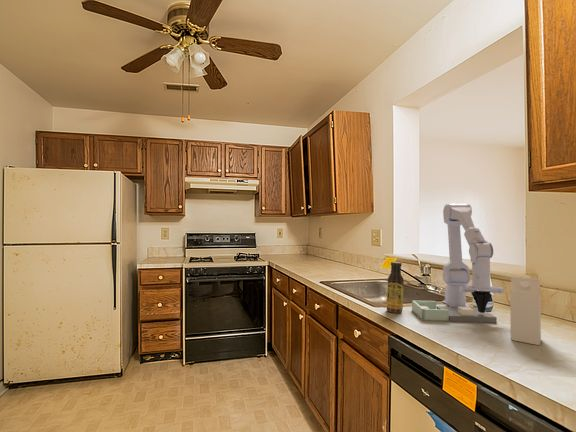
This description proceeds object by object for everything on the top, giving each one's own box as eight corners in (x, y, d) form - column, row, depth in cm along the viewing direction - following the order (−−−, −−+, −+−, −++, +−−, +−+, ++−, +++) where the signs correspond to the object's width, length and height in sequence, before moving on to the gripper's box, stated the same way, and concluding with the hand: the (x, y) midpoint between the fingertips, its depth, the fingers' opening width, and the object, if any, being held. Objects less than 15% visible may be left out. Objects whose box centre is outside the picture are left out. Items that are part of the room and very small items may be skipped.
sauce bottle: (385, 312, 131) (385, 262, 131) (388, 308, 136) (388, 260, 136) (402, 314, 128) (402, 263, 128) (404, 310, 133) (404, 261, 133)
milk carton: (513, 334, 106) (512, 275, 106) (540, 339, 101) (540, 277, 101) (510, 340, 100) (510, 277, 100) (540, 346, 96) (539, 280, 96)
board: (436, 311, 133) (436, 306, 133) (478, 312, 131) (478, 307, 131) (449, 321, 119) (449, 315, 119) (496, 322, 117) (496, 317, 117)
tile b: (458, 312, 124) (457, 306, 124) (469, 312, 124) (469, 307, 124) (462, 315, 120) (462, 309, 120) (474, 315, 120) (473, 309, 120)
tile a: (426, 305, 132) (426, 310, 132) (415, 305, 132) (415, 310, 132) (429, 308, 128) (429, 313, 128) (418, 308, 128) (418, 313, 128)
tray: (412, 310, 134) (412, 300, 134) (435, 311, 133) (435, 301, 133) (422, 320, 120) (422, 309, 120) (448, 321, 119) (448, 310, 119)
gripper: (465, 276, 118) (465, 314, 118) (507, 277, 117) (508, 315, 117) (457, 273, 125) (457, 309, 125) (497, 274, 124) (497, 310, 124)
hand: (481, 312), depth 121 cm, fingers closed
